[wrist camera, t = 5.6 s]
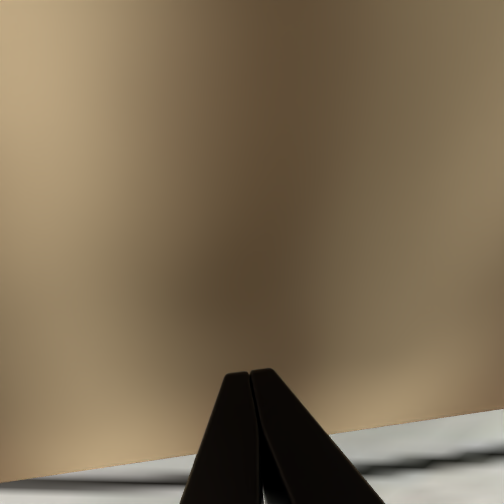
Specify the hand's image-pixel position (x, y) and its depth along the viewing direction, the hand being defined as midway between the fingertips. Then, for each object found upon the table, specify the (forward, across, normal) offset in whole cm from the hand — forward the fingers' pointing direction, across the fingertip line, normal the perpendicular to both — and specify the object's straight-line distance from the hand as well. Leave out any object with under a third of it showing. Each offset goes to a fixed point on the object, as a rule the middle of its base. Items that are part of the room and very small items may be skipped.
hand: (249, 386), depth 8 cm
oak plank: (+3, 0, -2) cm, 4 cm away
